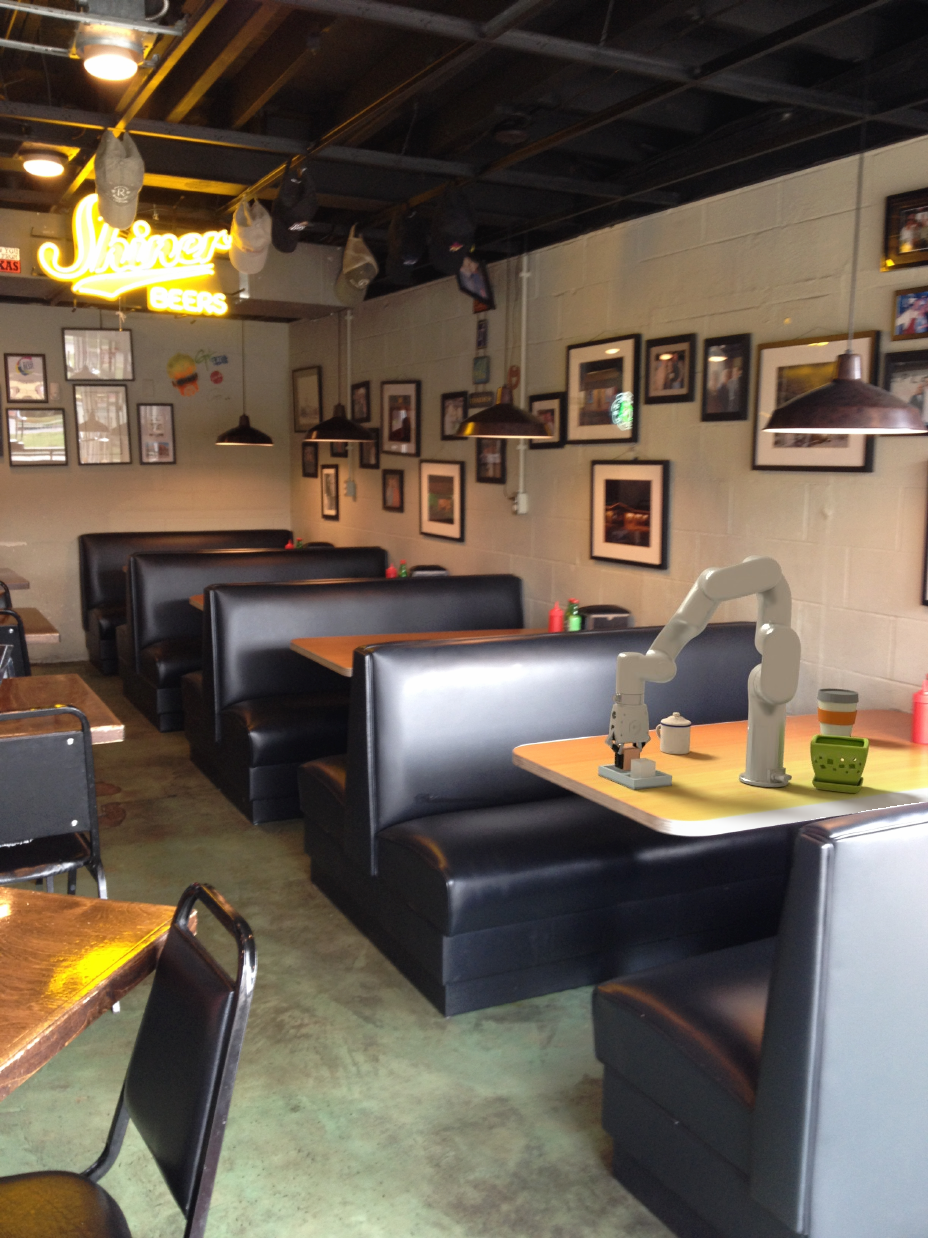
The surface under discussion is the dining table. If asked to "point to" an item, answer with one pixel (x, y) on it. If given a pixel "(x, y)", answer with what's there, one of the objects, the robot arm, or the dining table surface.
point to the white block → (642, 768)
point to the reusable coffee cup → (837, 711)
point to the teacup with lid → (674, 734)
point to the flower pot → (838, 762)
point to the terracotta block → (629, 756)
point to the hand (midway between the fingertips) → (626, 766)
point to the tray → (635, 784)
